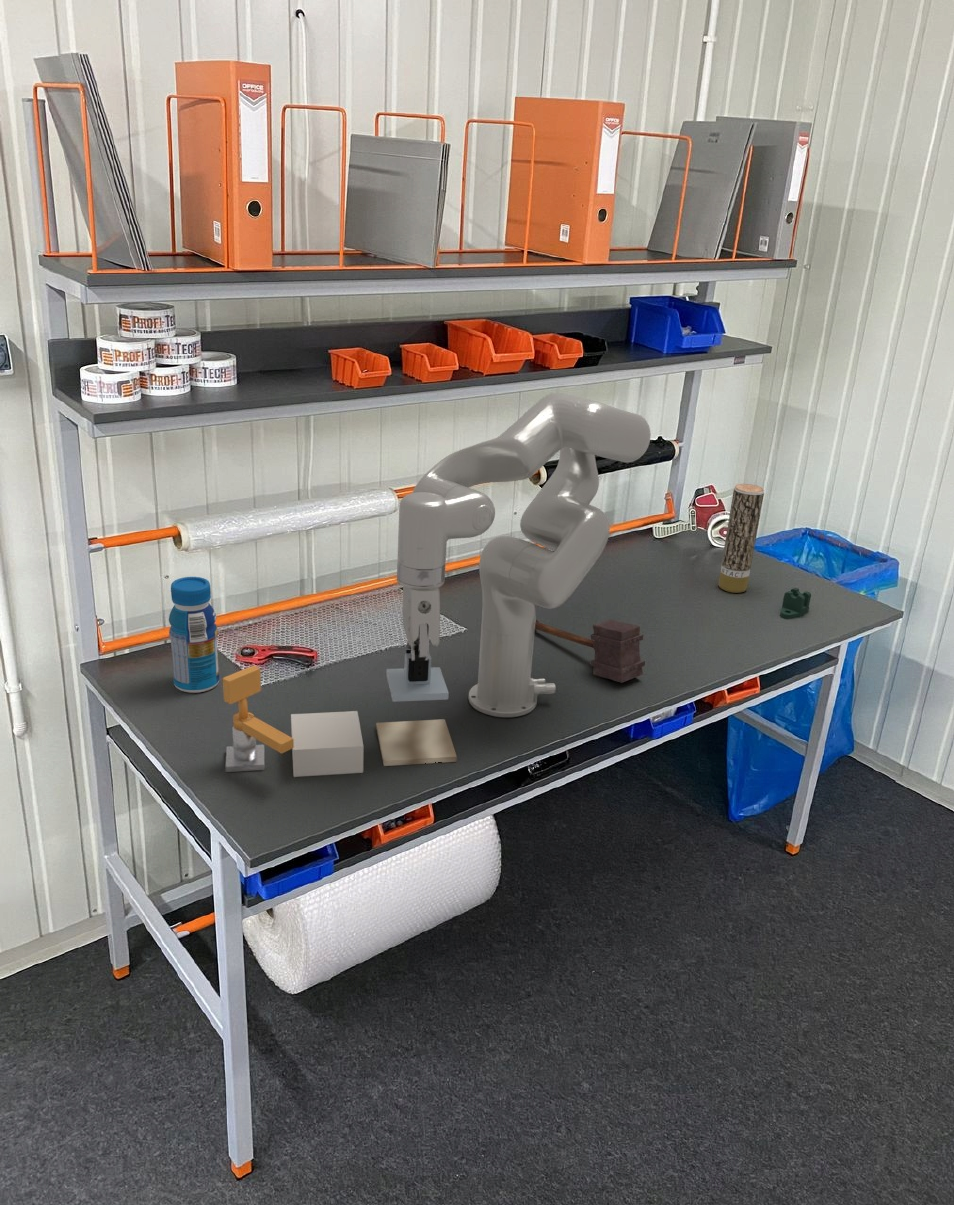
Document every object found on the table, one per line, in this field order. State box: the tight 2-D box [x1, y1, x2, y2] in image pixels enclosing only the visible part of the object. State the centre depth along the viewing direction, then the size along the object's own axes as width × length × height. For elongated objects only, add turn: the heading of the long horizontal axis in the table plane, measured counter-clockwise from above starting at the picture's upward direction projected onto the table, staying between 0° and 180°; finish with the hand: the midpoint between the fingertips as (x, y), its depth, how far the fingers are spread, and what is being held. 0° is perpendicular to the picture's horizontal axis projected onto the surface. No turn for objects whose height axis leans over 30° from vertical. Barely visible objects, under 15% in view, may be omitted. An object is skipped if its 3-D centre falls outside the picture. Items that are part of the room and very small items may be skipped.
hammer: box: [535, 619, 646, 684], centre depth 206 cm, size 7×33×10 cm, turn 39°
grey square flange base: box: [225, 724, 265, 773], centre depth 163 cm, size 6×6×6 cm
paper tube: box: [718, 483, 765, 594], centre depth 238 cm, size 7×7×25 cm
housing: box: [290, 710, 364, 778], centre depth 166 cm, size 11×11×5 cm
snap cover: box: [385, 652, 450, 703], centre depth 166 cm, size 9×9×6 cm
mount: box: [779, 587, 812, 620], centre depth 231 cm, size 11×4×5 cm, turn 137°
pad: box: [375, 718, 458, 767], centre depth 171 cm, size 12×12×1 cm
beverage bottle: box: [168, 576, 220, 694], centre depth 183 cm, size 8×8×20 cm
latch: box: [222, 664, 294, 755], centre depth 157 cm, size 12×6×9 cm, turn 50°
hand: (416, 675), depth 166 cm, fingers closed on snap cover
